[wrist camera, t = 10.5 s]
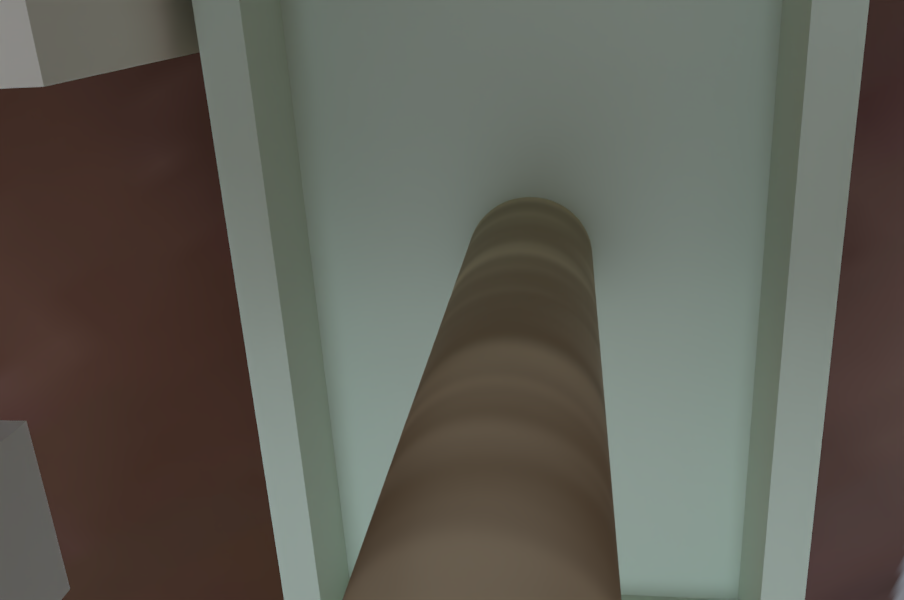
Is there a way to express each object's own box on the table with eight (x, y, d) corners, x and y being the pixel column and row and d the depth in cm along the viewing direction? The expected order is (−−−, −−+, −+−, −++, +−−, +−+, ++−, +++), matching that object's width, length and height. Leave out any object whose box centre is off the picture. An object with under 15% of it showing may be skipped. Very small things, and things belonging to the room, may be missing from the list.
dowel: (465, 198, 21) (137, 941, 5) (592, 195, 20) (677, 994, 4) (471, 314, 22) (218, 1231, 6) (592, 314, 21) (660, 1295, 6)
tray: (223, -230, 19) (150, -269, 16) (846, -292, 17) (907, -353, 14) (329, 585, 27) (295, 669, 24) (766, 606, 25) (793, 702, 22)
